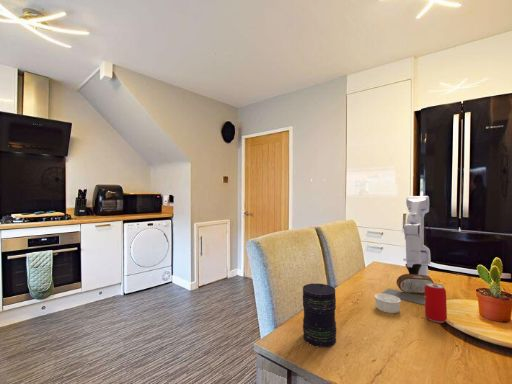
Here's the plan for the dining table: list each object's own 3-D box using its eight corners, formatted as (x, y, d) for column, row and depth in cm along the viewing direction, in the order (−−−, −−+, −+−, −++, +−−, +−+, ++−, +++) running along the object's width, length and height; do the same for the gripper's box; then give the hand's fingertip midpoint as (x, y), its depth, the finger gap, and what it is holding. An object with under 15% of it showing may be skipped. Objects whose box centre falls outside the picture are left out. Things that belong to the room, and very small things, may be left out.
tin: (429, 290, 115) (433, 274, 112) (433, 295, 112) (437, 278, 109) (394, 288, 116) (397, 272, 114) (397, 292, 113) (400, 276, 111)
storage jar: (331, 352, 70) (330, 297, 70) (297, 341, 75) (297, 290, 75) (340, 335, 78) (339, 286, 79) (309, 327, 83) (309, 281, 84)
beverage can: (443, 317, 90) (442, 283, 91) (450, 325, 84) (449, 288, 85) (422, 314, 92) (421, 281, 93) (428, 322, 86) (427, 286, 87)
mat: (388, 289, 119) (388, 288, 119) (439, 300, 105) (439, 299, 105) (380, 294, 112) (380, 293, 112) (435, 307, 98) (435, 307, 98)
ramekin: (399, 306, 99) (399, 295, 100) (402, 316, 91) (401, 303, 92) (374, 303, 103) (374, 292, 103) (375, 311, 95) (374, 300, 95)
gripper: (407, 247, 123) (408, 275, 123) (398, 251, 113) (399, 282, 112) (424, 248, 118) (425, 278, 118) (417, 253, 108) (417, 285, 107)
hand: (413, 280), depth 115 cm, fingers closed
